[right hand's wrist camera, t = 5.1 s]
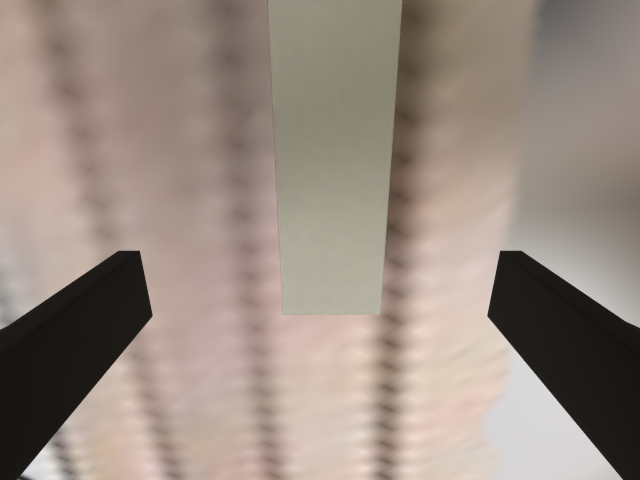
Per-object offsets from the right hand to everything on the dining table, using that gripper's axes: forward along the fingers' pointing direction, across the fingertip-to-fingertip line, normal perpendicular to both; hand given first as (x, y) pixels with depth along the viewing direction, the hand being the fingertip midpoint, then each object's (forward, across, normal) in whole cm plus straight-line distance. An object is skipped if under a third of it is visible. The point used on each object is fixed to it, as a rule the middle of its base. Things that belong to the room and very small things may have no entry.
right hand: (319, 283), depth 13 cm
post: (+14, -1, -33) cm, 36 cm away
